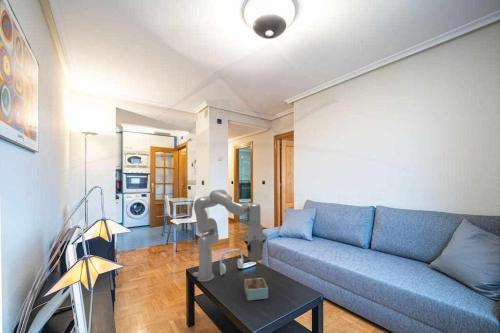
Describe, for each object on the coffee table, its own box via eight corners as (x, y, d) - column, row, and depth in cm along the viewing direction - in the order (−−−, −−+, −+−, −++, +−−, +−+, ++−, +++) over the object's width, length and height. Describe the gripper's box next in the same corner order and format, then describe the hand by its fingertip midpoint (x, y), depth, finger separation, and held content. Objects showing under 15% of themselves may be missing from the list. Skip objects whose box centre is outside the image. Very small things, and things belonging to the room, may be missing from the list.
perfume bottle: (262, 259, 139) (262, 231, 140) (254, 262, 135) (253, 233, 136) (255, 256, 144) (255, 229, 145) (247, 258, 140) (247, 230, 141)
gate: (247, 300, 131) (247, 290, 131) (247, 299, 132) (247, 289, 132) (268, 298, 134) (268, 288, 134) (267, 297, 135) (267, 287, 135)
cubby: (247, 300, 132) (247, 289, 133) (244, 289, 145) (244, 279, 145) (267, 298, 135) (267, 287, 135) (263, 287, 147) (263, 277, 147)
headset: (222, 277, 161) (222, 253, 161) (218, 274, 167) (218, 250, 167) (244, 270, 172) (244, 248, 172) (240, 267, 178) (240, 245, 178)
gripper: (242, 224, 135) (242, 253, 135) (269, 223, 138) (269, 251, 137) (240, 222, 143) (240, 249, 142) (266, 221, 145) (266, 247, 145)
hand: (255, 250), depth 140 cm, fingers closed on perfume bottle, 7 cm apart
